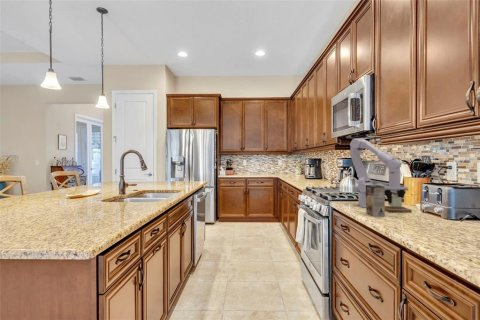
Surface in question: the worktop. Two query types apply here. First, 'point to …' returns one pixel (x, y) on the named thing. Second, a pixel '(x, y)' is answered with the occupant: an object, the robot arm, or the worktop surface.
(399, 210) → the walnut board
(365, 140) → the robot arm
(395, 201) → the sage block
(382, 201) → the coffee box
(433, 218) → the worktop surface
